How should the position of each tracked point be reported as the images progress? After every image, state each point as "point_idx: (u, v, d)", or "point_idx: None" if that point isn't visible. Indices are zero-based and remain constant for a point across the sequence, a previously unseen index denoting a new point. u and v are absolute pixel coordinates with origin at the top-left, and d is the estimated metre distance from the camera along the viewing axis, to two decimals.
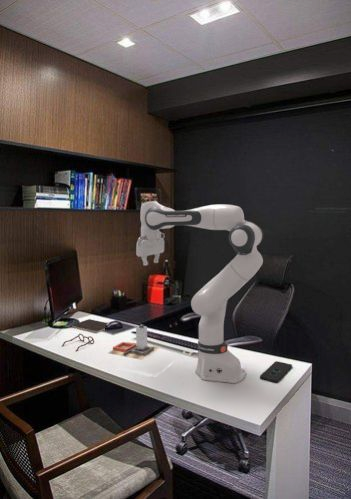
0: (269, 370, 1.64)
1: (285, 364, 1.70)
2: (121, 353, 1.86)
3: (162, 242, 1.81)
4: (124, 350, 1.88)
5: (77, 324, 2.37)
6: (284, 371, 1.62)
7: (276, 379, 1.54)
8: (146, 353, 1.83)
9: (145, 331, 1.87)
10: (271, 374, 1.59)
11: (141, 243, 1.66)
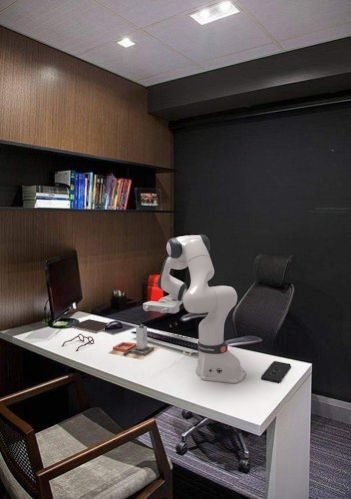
0: (269, 370, 1.64)
1: (283, 363, 1.71)
2: (121, 353, 1.86)
3: (174, 303, 2.02)
4: (124, 350, 1.88)
5: (77, 324, 2.37)
6: (284, 371, 1.63)
7: (278, 379, 1.54)
8: (146, 353, 1.83)
9: (145, 331, 1.87)
10: (272, 374, 1.59)
11: None
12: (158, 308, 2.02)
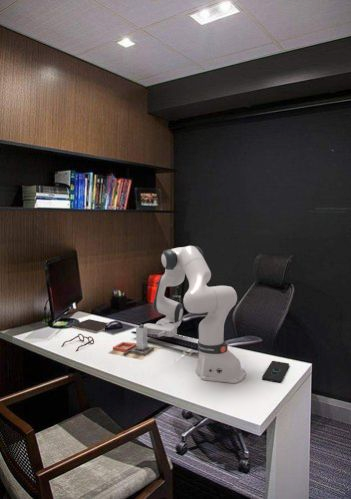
0: (269, 370, 1.64)
1: (282, 363, 1.71)
2: (121, 353, 1.86)
3: (172, 326, 1.99)
4: (124, 350, 1.88)
5: (77, 324, 2.37)
6: (284, 370, 1.63)
7: (279, 379, 1.55)
8: (146, 353, 1.83)
9: (145, 331, 1.87)
10: (272, 374, 1.59)
11: None
12: (155, 331, 1.99)
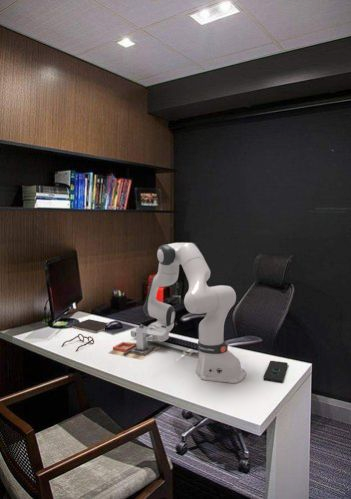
0: (269, 370, 1.64)
1: (280, 362, 1.72)
2: (121, 353, 1.86)
3: (163, 331, 1.91)
4: (124, 350, 1.88)
5: (77, 324, 2.37)
6: (283, 370, 1.63)
7: (281, 379, 1.55)
8: (146, 353, 1.83)
9: (145, 331, 1.87)
10: (273, 374, 1.59)
11: None
12: None
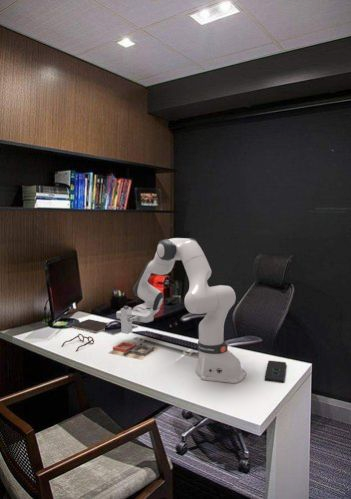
0: (269, 370, 1.63)
1: (278, 362, 1.72)
2: (121, 353, 1.86)
3: (148, 312, 1.95)
4: (124, 350, 1.88)
5: (77, 324, 2.37)
6: (283, 370, 1.64)
7: (282, 379, 1.55)
8: (146, 353, 1.83)
9: (130, 312, 1.90)
10: (274, 374, 1.59)
11: None
12: None
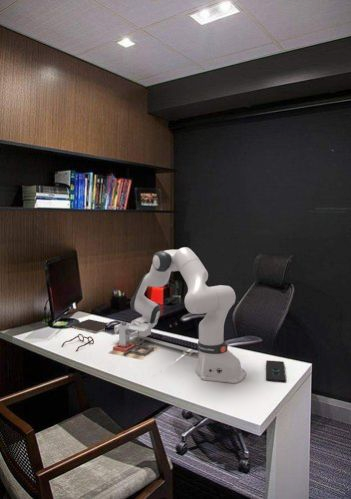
0: (269, 370, 1.63)
1: (276, 362, 1.73)
2: (121, 353, 1.86)
3: (145, 326, 1.96)
4: (124, 350, 1.88)
5: (77, 324, 2.37)
6: (282, 369, 1.64)
7: (283, 378, 1.55)
8: (146, 353, 1.83)
9: (127, 328, 1.92)
10: (274, 374, 1.59)
11: None
12: None
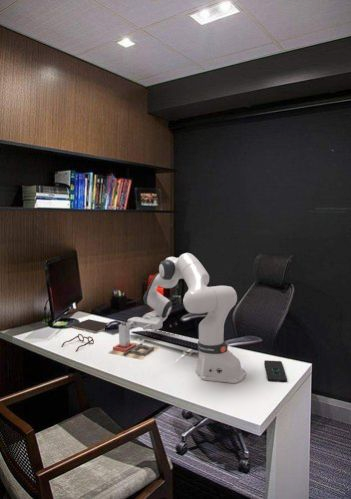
0: (269, 370, 1.63)
1: (274, 361, 1.73)
2: (121, 353, 1.86)
3: (157, 320, 2.08)
4: (124, 350, 1.88)
5: (77, 324, 2.37)
6: (282, 369, 1.65)
7: (285, 378, 1.55)
8: (146, 353, 1.83)
9: (127, 328, 1.92)
10: (275, 374, 1.59)
11: None
12: (142, 324, 2.08)
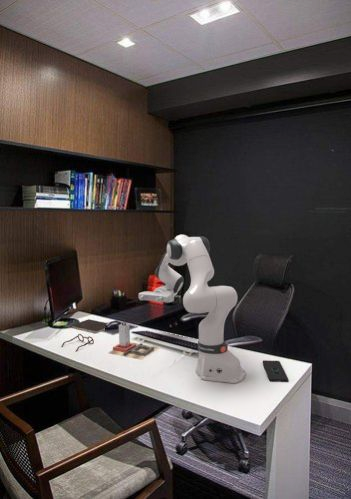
0: (269, 370, 1.63)
1: (273, 361, 1.73)
2: (121, 353, 1.86)
3: (169, 293, 2.06)
4: (124, 350, 1.88)
5: (77, 324, 2.37)
6: (281, 368, 1.65)
7: (286, 378, 1.56)
8: (146, 353, 1.83)
9: (127, 328, 1.92)
10: (276, 374, 1.59)
11: None
12: (153, 298, 2.06)
